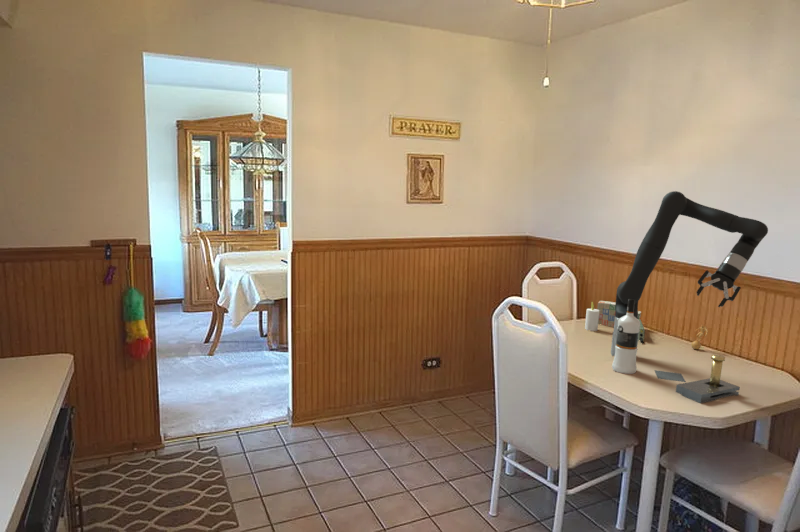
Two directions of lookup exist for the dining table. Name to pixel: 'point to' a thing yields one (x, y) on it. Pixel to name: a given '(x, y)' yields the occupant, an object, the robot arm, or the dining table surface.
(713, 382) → the brass pin
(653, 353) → the dining table surface
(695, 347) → the figurine
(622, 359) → the vodka
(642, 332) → the handheld radio
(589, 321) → the candle
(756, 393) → the dining table surface
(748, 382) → the dining table surface
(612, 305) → the stack of blocks
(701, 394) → the slotted grey base plate
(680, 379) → the rubber mat
